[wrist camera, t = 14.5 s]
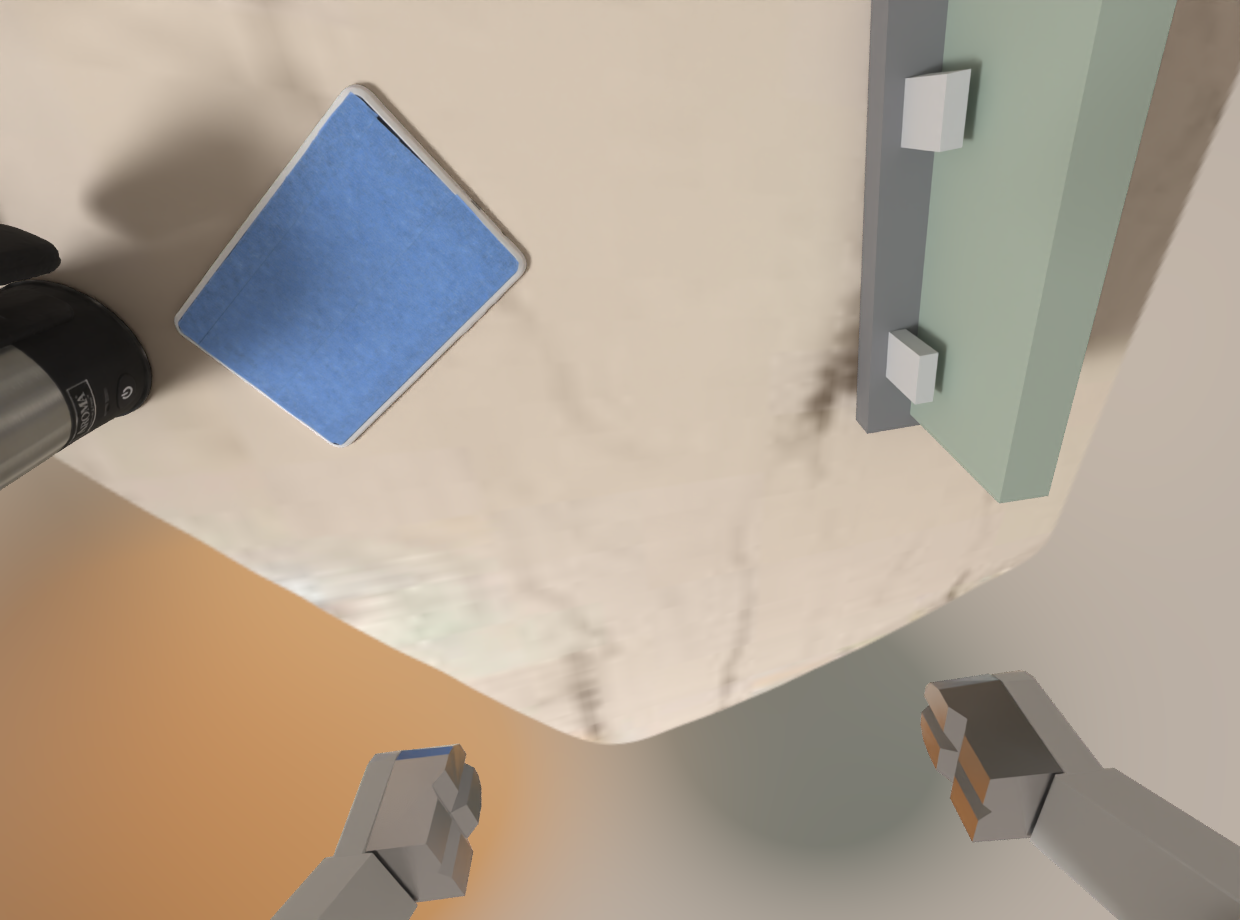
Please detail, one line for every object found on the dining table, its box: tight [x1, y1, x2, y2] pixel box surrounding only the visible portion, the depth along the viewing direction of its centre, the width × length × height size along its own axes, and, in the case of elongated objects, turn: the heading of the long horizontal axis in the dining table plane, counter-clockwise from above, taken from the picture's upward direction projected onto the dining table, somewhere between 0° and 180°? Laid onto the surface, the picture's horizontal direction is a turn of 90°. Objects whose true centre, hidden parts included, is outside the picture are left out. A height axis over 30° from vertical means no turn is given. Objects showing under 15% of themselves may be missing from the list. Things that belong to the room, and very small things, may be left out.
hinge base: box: [856, 0, 971, 434], centre depth 31 cm, size 24×8×6 cm, turn 11°
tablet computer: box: [174, 84, 527, 447], centre depth 35 cm, size 19×13×1 cm, turn 131°
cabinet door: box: [910, 0, 1177, 503], centre depth 27 cm, size 22×4×10 cm, turn 11°
